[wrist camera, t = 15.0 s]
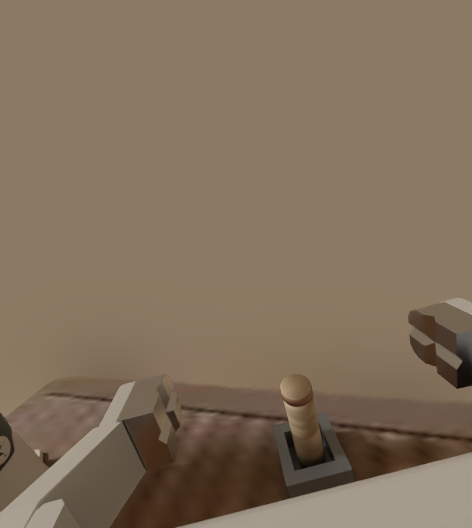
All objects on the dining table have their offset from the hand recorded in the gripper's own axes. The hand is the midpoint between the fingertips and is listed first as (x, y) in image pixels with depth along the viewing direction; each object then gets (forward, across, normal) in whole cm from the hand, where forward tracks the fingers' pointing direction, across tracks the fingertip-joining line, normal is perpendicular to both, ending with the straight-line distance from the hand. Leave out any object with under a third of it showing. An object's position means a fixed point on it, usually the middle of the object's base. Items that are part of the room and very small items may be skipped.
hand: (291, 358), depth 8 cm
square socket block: (+18, +2, -32) cm, 37 cm away
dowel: (+18, +2, -31) cm, 36 cm away
